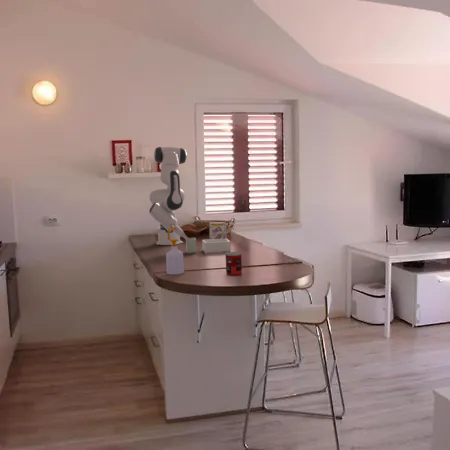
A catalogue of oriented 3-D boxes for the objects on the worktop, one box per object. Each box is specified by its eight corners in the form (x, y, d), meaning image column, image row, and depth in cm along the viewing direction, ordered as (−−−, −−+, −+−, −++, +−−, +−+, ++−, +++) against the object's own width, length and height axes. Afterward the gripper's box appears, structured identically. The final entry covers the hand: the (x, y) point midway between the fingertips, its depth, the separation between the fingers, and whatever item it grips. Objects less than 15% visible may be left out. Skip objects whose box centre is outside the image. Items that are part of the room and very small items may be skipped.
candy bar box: (209, 247, 372) (208, 223, 370) (210, 246, 377) (209, 222, 375) (226, 247, 371) (225, 222, 369) (226, 246, 376) (226, 222, 374)
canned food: (225, 273, 288) (224, 252, 286) (240, 272, 288) (240, 251, 287) (226, 276, 280) (226, 254, 279) (242, 275, 281) (242, 254, 279)
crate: (202, 250, 362) (202, 239, 361) (226, 248, 364) (226, 238, 363) (205, 253, 348) (205, 242, 347) (230, 252, 350) (230, 241, 350)
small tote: (186, 252, 357) (185, 238, 356) (195, 251, 358) (194, 237, 357) (187, 253, 351) (186, 239, 350) (196, 253, 352) (196, 239, 351)
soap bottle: (185, 273, 289) (183, 227, 286) (168, 275, 287) (166, 228, 284) (182, 270, 298) (180, 225, 295) (165, 272, 295) (163, 226, 292)
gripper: (175, 221, 340) (191, 236, 343) (172, 218, 360) (188, 232, 363) (168, 229, 340) (185, 244, 342) (166, 225, 360) (182, 239, 362)
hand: (186, 238), depth 353 cm, fingers open, 8 cm apart
